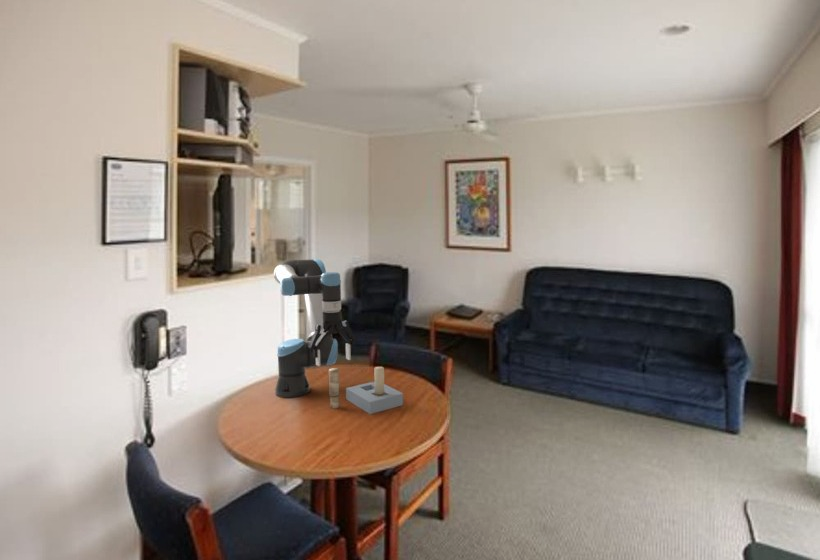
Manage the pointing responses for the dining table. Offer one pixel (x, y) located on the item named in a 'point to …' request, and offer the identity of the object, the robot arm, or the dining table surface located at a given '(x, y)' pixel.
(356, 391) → the seat board
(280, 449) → the dining table surface
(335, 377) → the beech leg
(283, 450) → the dining table surface
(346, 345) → the robot arm
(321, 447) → the dining table surface
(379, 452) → the dining table surface
